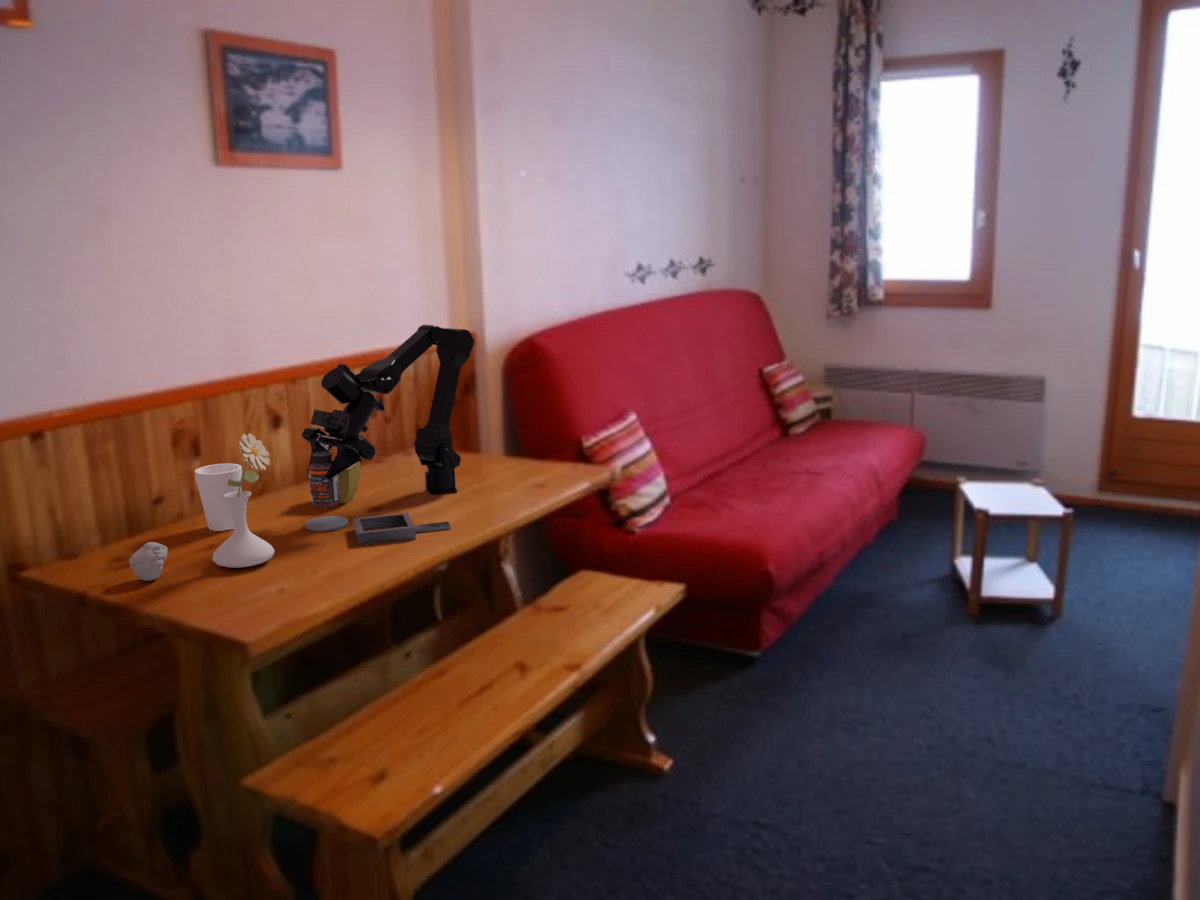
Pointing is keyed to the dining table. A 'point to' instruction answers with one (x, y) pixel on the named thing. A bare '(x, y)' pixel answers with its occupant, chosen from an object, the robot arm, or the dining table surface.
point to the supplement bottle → (323, 481)
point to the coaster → (326, 523)
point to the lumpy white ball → (149, 561)
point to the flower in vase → (244, 514)
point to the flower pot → (348, 482)
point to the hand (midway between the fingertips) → (318, 476)
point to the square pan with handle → (391, 533)
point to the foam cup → (217, 493)
